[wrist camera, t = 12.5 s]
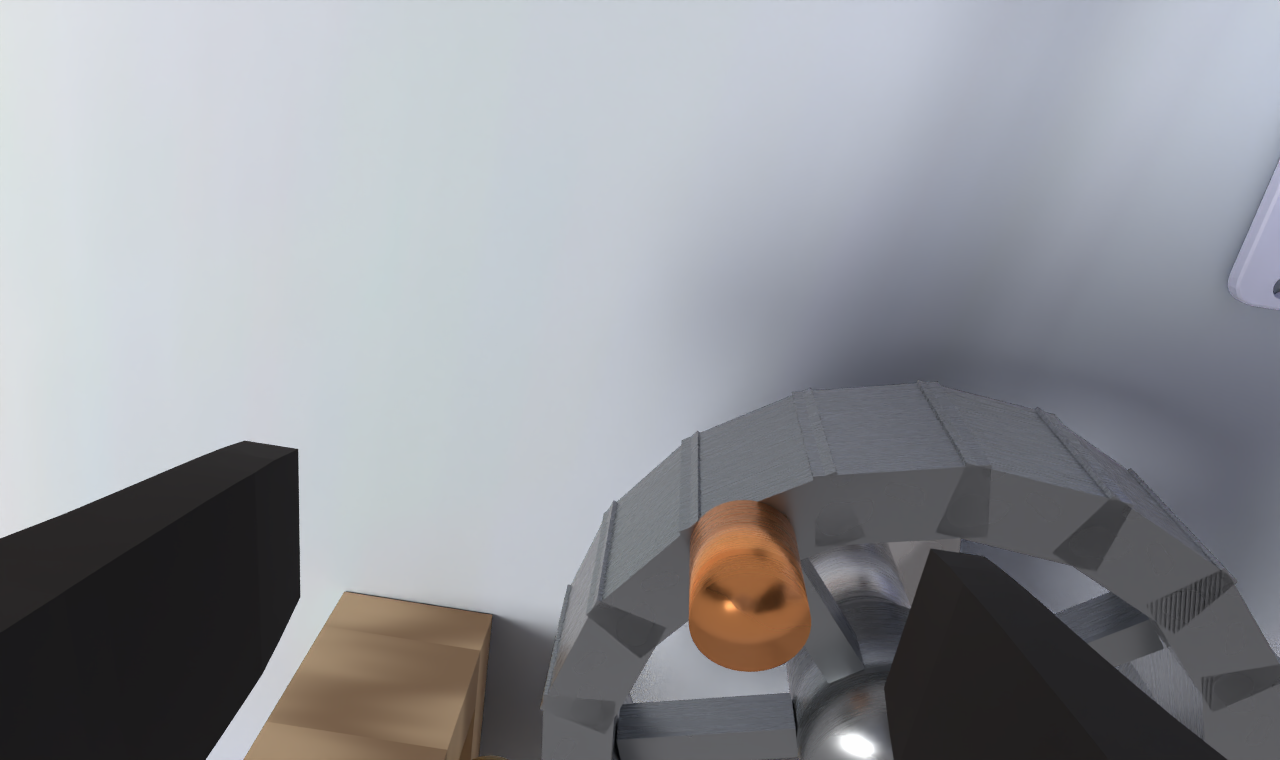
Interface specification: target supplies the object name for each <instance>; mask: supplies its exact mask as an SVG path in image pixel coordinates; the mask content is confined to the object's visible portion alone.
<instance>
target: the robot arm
mask: <svg viewBox="0 0 1280 760" xmlns="http://www.w3.org/2000/svg"><path fill="white" fill-rule="evenodd" d="M1279 279H1280V160H1279V162H1278V164H1277V167H1276V169H1275V171H1274V174H1273V176H1272V178H1271V180H1270V183H1269V185H1268V187H1267V190H1266V192H1265V194H1264V197H1263V199H1262V201H1261V204H1260V206H1259V208H1258V210H1257V213H1256V215H1255V217H1254V220H1253V222H1252V224H1251V227H1250V229H1249V231H1248V234H1247V236H1246V238H1245V240H1244V243H1243V245H1242V247H1241V250H1240V252H1239V254H1238V257H1237V259H1236V261H1235V264H1234V266H1233V268H1232V270H1231V273H1230V275H1229V279H1228V289H1229V292H1230V294H1231V295H1232V296H1233V297H1234V298H1235V299H1237V300H1239V301H1241V302H1243V303H1245V304H1248V305H1250V306H1255V307H1262V308H1268V309H1274V310H1280V292H1278V293H1276V294H1273V287H1274V285H1275V283H1276V282H1277V281H1278V280H1279ZM299 598H300V546H299V476H298V449H294V448H288V447H281V446H275V445H269V444H262V443H256V442H250V441H243V442H239V443H236V444H233V445H230V446H227V447H224V448H221V449H219V450H216V451H214V452H211V453H208V454H206V455H203V456H201V457H199V458H196V459H194V460H191V461H189V462H186V463H184V464H182V465H179V466H177V467H174V468H172V469H170V470H167V471H165V472H163V473H160V474H158V475H156V476H153V477H151V478H149V479H146V480H144V481H142V482H139V483H137V484H134V485H132V486H130V487H127V488H125V489H123V490H120V491H118V492H115V493H113V494H111V495H108V496H106V497H104V498H101V499H99V500H96V501H94V502H92V503H89V504H87V505H85V506H82V507H80V508H77V509H75V510H73V511H70V512H68V513H65V514H63V515H60V516H58V517H55V518H53V519H50V520H47V521H45V522H42V523H40V524H37V525H34V526H32V527H29V528H27V529H24V530H21V531H19V532H16V533H13V534H11V535H8V536H6V537H3V538H0V760H206V758H207V757H208V755H209V754H210V752H211V751H212V749H213V748H214V746H215V745H216V743H217V742H218V740H219V739H220V738H221V736H222V735H223V733H224V731H225V730H226V728H227V727H228V725H229V724H230V722H231V721H232V719H233V718H234V716H235V715H236V713H237V712H238V710H239V709H240V707H241V706H242V704H243V703H244V701H245V700H246V698H247V697H248V695H249V694H250V692H251V691H252V689H253V688H254V686H255V684H256V683H257V681H258V680H259V678H260V677H261V675H262V674H263V672H264V670H265V668H266V666H267V664H268V662H269V660H270V658H271V656H272V654H273V652H274V650H275V648H276V646H277V644H278V642H279V640H280V638H281V636H282V634H283V632H284V630H285V628H286V626H287V624H288V622H289V619H290V617H291V615H292V613H293V611H294V609H295V607H296V605H297V603H298V601H299ZM884 693H885V701H886V709H887V717H888V725H889V733H890V739H891V746H892V752H893V759H894V760H1227V759H1226V758H1225V757H1224V756H1222V755H1221V754H1220V753H1219V752H1217V751H1216V750H1215V749H1214V748H1212V747H1211V746H1210V745H1208V744H1207V743H1206V742H1205V741H1203V740H1202V739H1201V738H1200V737H1198V736H1197V735H1196V734H1195V733H1193V732H1192V731H1191V730H1189V729H1188V728H1187V727H1186V726H1184V725H1183V724H1182V723H1181V722H1179V721H1178V720H1177V719H1176V718H1174V717H1173V716H1172V715H1171V714H1170V713H1168V712H1167V711H1166V710H1165V709H1163V708H1162V707H1161V706H1160V705H1159V704H1157V703H1156V702H1155V701H1154V700H1153V699H1151V698H1150V697H1149V696H1148V695H1147V694H1145V693H1144V692H1143V691H1142V690H1141V689H1139V688H1138V687H1137V686H1136V685H1135V684H1134V683H1132V682H1131V681H1130V680H1129V679H1128V678H1126V677H1125V676H1124V675H1123V674H1122V673H1121V672H1119V671H1118V670H1117V669H1116V668H1115V667H1114V666H1113V665H1111V664H1110V663H1109V662H1108V661H1107V660H1106V659H1104V658H1103V657H1102V656H1101V655H1100V654H1099V653H1097V652H1096V651H1095V650H1094V649H1093V648H1092V647H1091V646H1089V645H1088V644H1087V643H1086V642H1085V641H1084V640H1083V639H1082V638H1080V637H1079V636H1078V635H1077V634H1076V633H1075V632H1074V631H1072V630H1071V629H1070V628H1069V627H1068V626H1067V625H1066V624H1064V623H1063V622H1062V621H1061V620H1060V619H1059V618H1058V617H1056V616H1055V615H1054V614H1053V613H1052V612H1051V611H1050V610H1049V609H1047V608H1046V607H1045V606H1044V605H1043V604H1042V603H1041V602H1039V601H1038V600H1037V599H1036V598H1035V597H1034V596H1032V595H1031V594H1030V593H1029V592H1028V591H1027V590H1026V589H1024V588H1023V587H1022V586H1021V585H1020V584H1019V583H1017V582H1016V581H1015V580H1014V579H1013V578H1011V577H1010V576H1009V575H1008V574H1006V573H1005V572H1004V571H1003V570H1001V569H1000V568H999V567H998V566H996V565H995V564H994V563H992V562H991V561H989V560H988V559H987V558H985V557H983V556H977V555H970V554H964V553H957V552H951V551H945V550H938V549H932V548H930V551H929V554H928V557H927V560H926V563H925V566H924V569H923V572H922V575H921V578H920V581H919V584H918V587H917V590H916V593H915V596H914V599H913V602H912V605H911V608H910V611H909V614H908V617H907V620H906V623H905V626H904V629H903V632H902V635H901V638H900V641H899V644H898V647H897V650H896V653H895V656H894V659H893V662H892V665H891V668H890V671H889V674H888V677H887V680H886V683H885V686H884Z"/></svg>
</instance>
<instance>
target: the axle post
mask: <svg viewBox="0 0 1280 760" xmlns="http://www.w3.org/2000/svg"><path fill="white" fill-rule="evenodd" d="M960 543H961V538H959V539H941V540H923V541H906V542H888V543H870V544H853V545H841V546H838V547H835V548H832V549H830V550H827V551H824V552H821V553H818V554H816V555H813V556H810V557H808V558H809V559H810V561H811V563H812V564H813V566H814V567H815V569H816V571H817V572H818V574H819V576H820V577H821V579H822V580H823V582H824V584H825V585H826V587H827V588H828V590H829V592H830V593H831V595H832V596H833V598H834V600H835V601H836V603H837V604H838V606H842V605H846V604H851V603H856V602H865V601H878V602H888V603H893V604H898V605H901V606H904V607H907V608H909V609H910V608H911V605H912V602H913V599H914V596H915V593H916V590H917V587H918V584H919V581H920V578H921V575H922V572H923V569H924V566H925V563H926V560H927V557H928V554H929V551H930V548H932V549H938V550H945V551H951V552H957V553H959V551H960Z"/></svg>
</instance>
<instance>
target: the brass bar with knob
mask: <svg viewBox="0 0 1280 760" xmlns="http://www.w3.org/2000/svg"><path fill="white" fill-rule="evenodd" d="M472 760H509V759H506V758H503V757H500V756H493V755H487V756H481V757H477V758H474V759H472Z"/></svg>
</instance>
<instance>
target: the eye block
mask: <svg viewBox="0 0 1280 760" xmlns="http://www.w3.org/2000/svg"><path fill="white" fill-rule="evenodd" d="M491 625H492V615H490V614H484V613H477V612H471V611H464V610H458V609H452V608H445V607H439V606H432V605H426V604H420V603H413V602H407V601H400V600H394V599H388V598H381V597H375V596H368V595H362V594H356V593H349V592H344V593H343V595H342V597H341V598H340V600H339V602H338V603H337V605H336V607H335V608H334V610H333V612H332V613H331V615H330V617H329V618H328V620H327V622H326V623H325V625H324V627H323V628H322V630H321V632H320V633H319V635H318V636H317V638H316V640H315V641H314V643H313V645H312V646H311V648H310V650H309V651H308V653H307V655H306V656H305V658H304V660H303V661H302V663H301V665H300V666H299V668H298V670H297V671H296V673H295V675H294V676H293V678H292V680H291V681H290V683H289V685H288V686H287V688H286V690H285V691H284V693H283V695H282V696H281V698H280V700H279V701H278V703H277V705H276V706H275V708H274V710H273V711H272V713H271V715H270V716H269V718H268V720H267V721H266V723H265V725H264V726H263V728H262V730H261V731H260V733H259V735H258V736H257V738H256V740H255V741H254V743H253V745H252V746H251V748H250V750H249V751H248V753H247V755H246V756H245V758H244V760H472V759H474V758H477V757H479V751H480V740H481V730H482V719H483V709H484V698H485V688H486V677H487V667H488V656H489V646H490V635H491Z"/></svg>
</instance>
